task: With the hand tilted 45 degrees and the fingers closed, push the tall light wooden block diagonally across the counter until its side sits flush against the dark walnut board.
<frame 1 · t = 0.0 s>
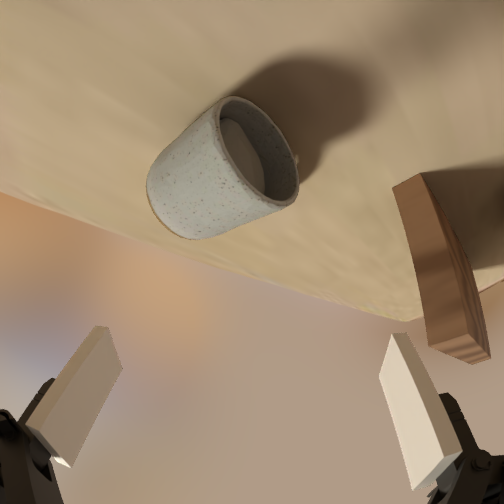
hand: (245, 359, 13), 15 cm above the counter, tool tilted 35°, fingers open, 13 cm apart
walnut board: (443, 237, 30), on the counter
ceramic mug: (239, 147, 22), on the counter
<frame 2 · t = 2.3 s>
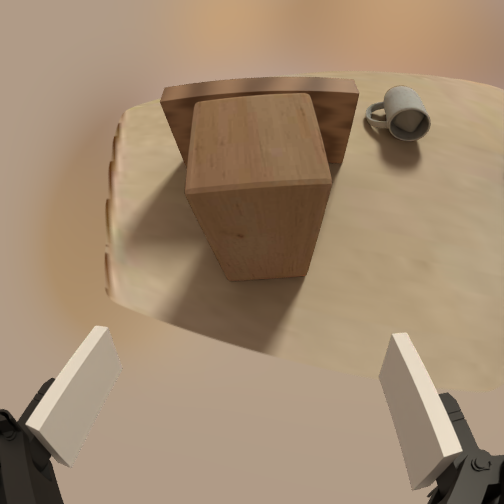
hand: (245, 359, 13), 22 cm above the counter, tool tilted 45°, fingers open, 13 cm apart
wooden block: (265, 243, 40), on the counter
walnut board: (263, 156, 45), on the counter
ceramic mug: (393, 126, 47), on the counter
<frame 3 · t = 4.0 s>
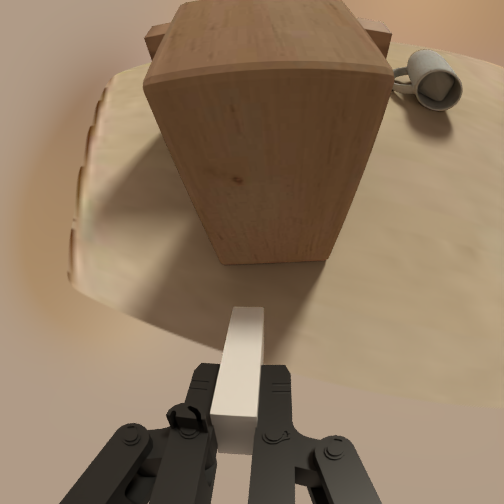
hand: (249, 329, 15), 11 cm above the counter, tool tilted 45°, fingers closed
wooden block: (272, 217, 30), on the counter
walnut board: (271, 115, 35), on the counter
ceramic mug: (418, 94, 36), on the counter
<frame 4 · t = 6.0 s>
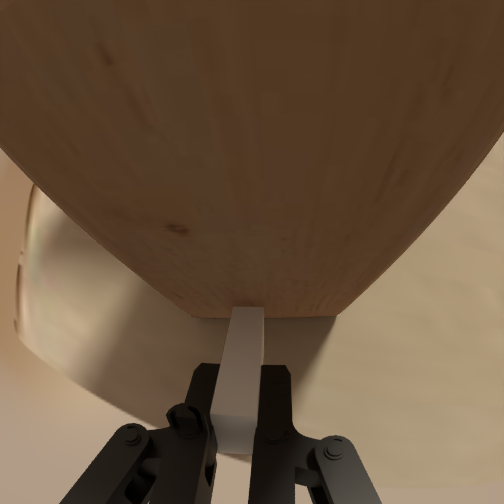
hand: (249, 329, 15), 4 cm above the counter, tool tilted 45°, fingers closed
wooden block: (264, 249, 22), on the counter, touching gripper
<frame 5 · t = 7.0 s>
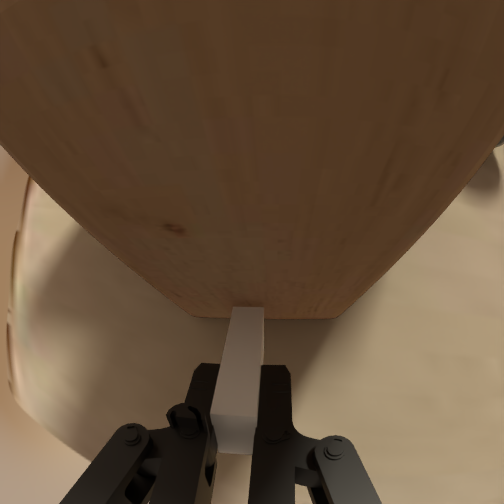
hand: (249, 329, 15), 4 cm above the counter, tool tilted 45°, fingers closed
wooden block: (265, 250, 22), on the counter, touching gripper
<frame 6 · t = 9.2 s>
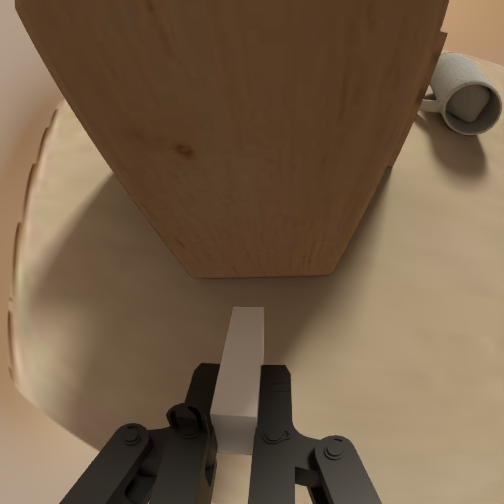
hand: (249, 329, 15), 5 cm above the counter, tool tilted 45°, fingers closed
wooden block: (260, 216, 23), on the counter, touching walnut board
walnut board: (257, 149, 25), on the counter
ceramic mug: (442, 112, 27), on the counter
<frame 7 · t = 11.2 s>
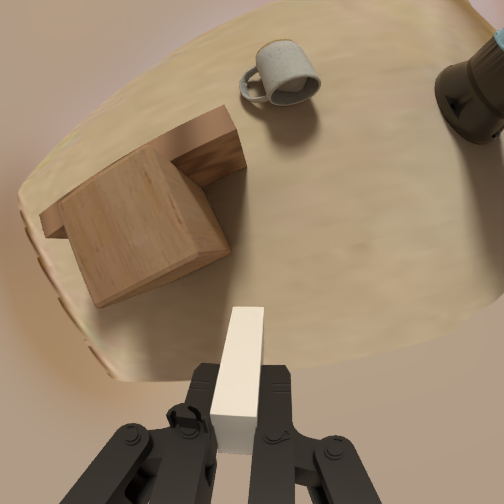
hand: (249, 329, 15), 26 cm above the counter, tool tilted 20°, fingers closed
wooden block: (185, 235, 41), on the counter, touching walnut board
walnut board: (166, 194, 41), on the counter
ceramic mug: (277, 87, 40), on the counter
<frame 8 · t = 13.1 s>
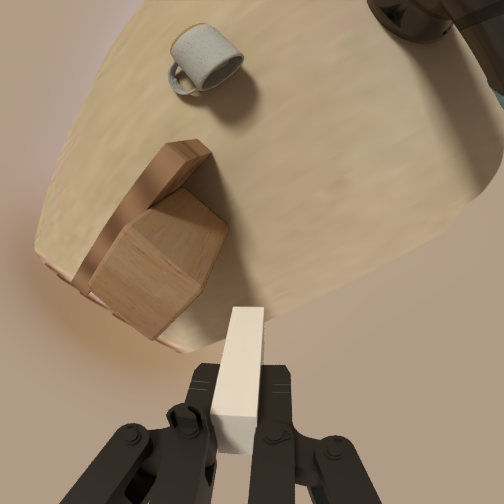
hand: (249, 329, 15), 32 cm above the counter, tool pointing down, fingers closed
wooden block: (187, 228, 48), on the counter, touching walnut board
walnut board: (156, 202, 46), on the counter
ceramic mug: (205, 68, 38), on the counter
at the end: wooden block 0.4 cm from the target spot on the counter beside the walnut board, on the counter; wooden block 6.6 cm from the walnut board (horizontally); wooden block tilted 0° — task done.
